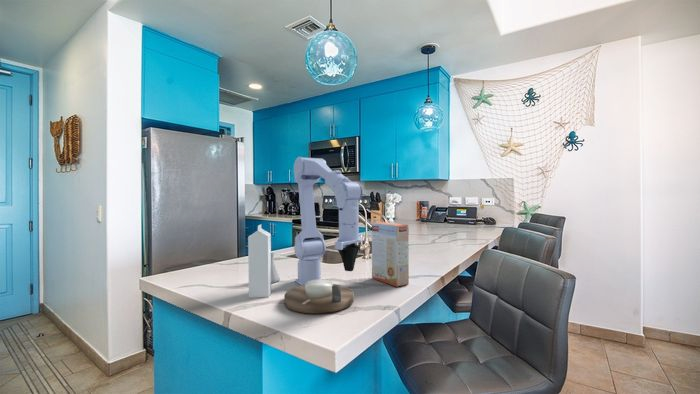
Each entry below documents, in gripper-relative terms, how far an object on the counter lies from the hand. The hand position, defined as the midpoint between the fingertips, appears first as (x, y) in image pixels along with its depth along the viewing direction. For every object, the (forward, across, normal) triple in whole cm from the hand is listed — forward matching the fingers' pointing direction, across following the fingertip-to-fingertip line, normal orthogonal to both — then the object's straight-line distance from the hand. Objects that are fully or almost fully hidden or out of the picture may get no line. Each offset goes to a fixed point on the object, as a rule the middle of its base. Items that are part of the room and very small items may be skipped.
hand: (349, 270), depth 92 cm
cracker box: (+10, +26, -5) cm, 28 cm away
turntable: (+9, -2, +8) cm, 13 cm away
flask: (+10, +10, +36) cm, 39 cm away
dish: (+7, -3, +9) cm, 11 cm away
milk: (+10, -4, +29) cm, 31 cm away
